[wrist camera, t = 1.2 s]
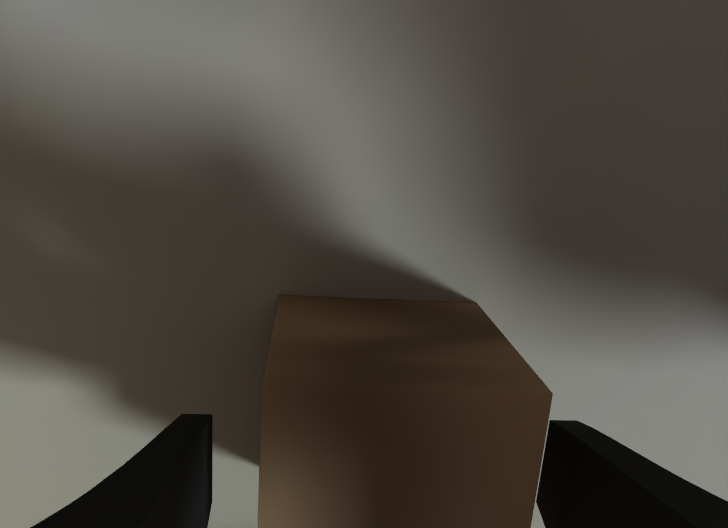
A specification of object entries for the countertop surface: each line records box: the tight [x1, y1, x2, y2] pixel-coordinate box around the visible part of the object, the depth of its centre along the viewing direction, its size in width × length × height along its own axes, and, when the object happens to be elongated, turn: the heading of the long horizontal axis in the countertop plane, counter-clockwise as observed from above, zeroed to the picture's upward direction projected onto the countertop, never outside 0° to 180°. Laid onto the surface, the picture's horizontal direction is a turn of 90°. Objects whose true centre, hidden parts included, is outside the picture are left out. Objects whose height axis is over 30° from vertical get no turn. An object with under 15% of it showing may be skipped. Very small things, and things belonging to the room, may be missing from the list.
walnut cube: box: [258, 295, 553, 528], centre depth 13 cm, size 5×5×5 cm
